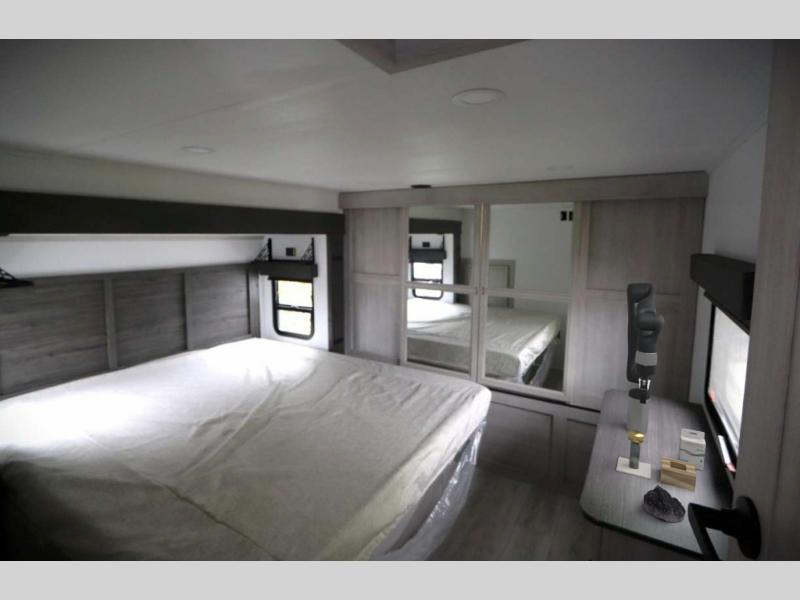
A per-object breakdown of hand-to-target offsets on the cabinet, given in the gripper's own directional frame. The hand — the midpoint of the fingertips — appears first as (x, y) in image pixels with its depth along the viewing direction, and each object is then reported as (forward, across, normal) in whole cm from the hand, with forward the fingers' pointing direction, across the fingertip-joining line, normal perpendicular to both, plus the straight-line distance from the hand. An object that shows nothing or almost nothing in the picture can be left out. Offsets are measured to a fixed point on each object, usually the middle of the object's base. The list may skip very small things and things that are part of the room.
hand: (643, 399), depth 171 cm
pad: (+29, +4, -2) cm, 29 cm away
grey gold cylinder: (+28, +4, -2) cm, 29 cm away
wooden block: (+29, +5, +13) cm, 32 cm away
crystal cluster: (+29, +30, +9) cm, 43 cm away
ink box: (+30, -11, +18) cm, 37 cm away
